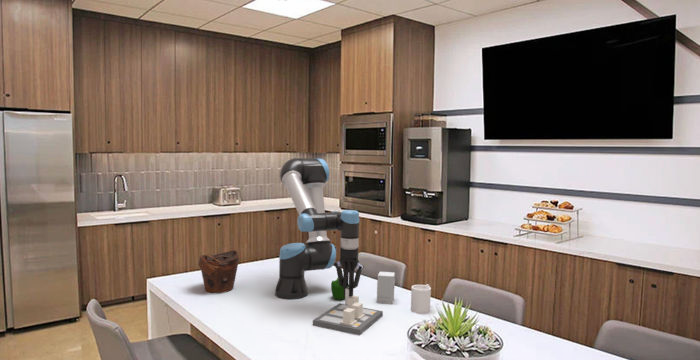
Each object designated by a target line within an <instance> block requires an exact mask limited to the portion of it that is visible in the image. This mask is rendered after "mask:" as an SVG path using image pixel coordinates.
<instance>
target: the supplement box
mask: <svg viewBox="0 0 700 360" xmlns="http://www.w3.org/2000/svg"><path fill="white" fill-rule="evenodd" d="M395 278H396V273H395V272H394V271H393V272H391V271H379V272H378V274H377V283H376V304H377V303H378V304H388V305H393V302H394V300H395V285H396V283H395V282H396V281H395Z"/></svg>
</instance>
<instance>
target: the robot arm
mask: <svg viewBox="0 0 700 360" xmlns="http://www.w3.org/2000/svg"><path fill="white" fill-rule="evenodd" d="M329 169H330V168H329V165H328V163H327V161H326V160H325V159H324V158H317V157H314V158H313V157H307V158H306V157H305V158H302V157H301V158H299V157H294V158H290V159H288V160H287V161H286V162H284V164H283V165H282V167H281V169H280V172H279V177H280V181H281V184H282V186H284V187H285V188H286V189H287V191H288V193H289V196H290V199H291V200H292V203H293V205H294V207H295V209H296V211H297V214H298V216H297V220H296V223H297V228H298V230H299V231H300V232H308V240H306V244H305V243H303V242H293V243H286V244H284V245H282V246H281V247H280V249H279V256H278V258H279V261H278V262H279V266H278V267H279V270H278V274H279V276H278V280H277V284H276V287H275V291H274V292H275V293H274V294H275V296H276V297H278V298H280V299H285V300H294V299H302V298H305V297H307V296H308V294H309V293H308V292H309V289H308V287H307V283H306V279H305V272H309V271H319V270H321V271H322V270H323V271H324V270H326V269H331V268H332V267H333V266H334V267H335V270H336V274H337V278H338V280H339V285H340V286H342V287H343V288H344V296H345V298H344V304H347V305H348V298H349V297H351V296H353V295H354V289H356V288H357V287H358V286H359V282H360V280H361V279H360V278H361V275H362V271H363V270H364V268H365V266H364V265H362V264H360V261H359V247H360V246H359V244H360V241H359V240H360V239H359V237H360V236H359V235H360V212H359V211H358V210H357V209H356V210H353V209H343V210H342V211H337V210H334V211H331V212H326V211H325V210H326V208H325V198H324V197H325V195H324V187H325V186H326V185H327V184H326V182H328V181H329V179H330V170H329ZM328 231H340V245H339V246H340V250H339V251H340V253H339V256H340V257H339V260H338V261H336V258H337V250H336V249H337V248H336V246H335V245H334V244H333V243H331V240H330V238H329V237H328V236H327V235H328V234H327V232H328ZM355 271H356V272H355ZM348 284H349V285H348ZM348 286H349V287H348Z"/></svg>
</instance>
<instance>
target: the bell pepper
mask: <svg viewBox="0 0 700 360" xmlns="http://www.w3.org/2000/svg"><path fill="white" fill-rule="evenodd" d="M348 285H349V283H348ZM330 286H331V287H330V291H331V294H332V297H333V298H334V299H335V300H337V301H341V300H343V299H344V300H345V296H344V288H343V287H342V286H340V285H339V280H338V277H337V278H336V279H335V280H331V284H330ZM348 287H349V286H348Z"/></svg>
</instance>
